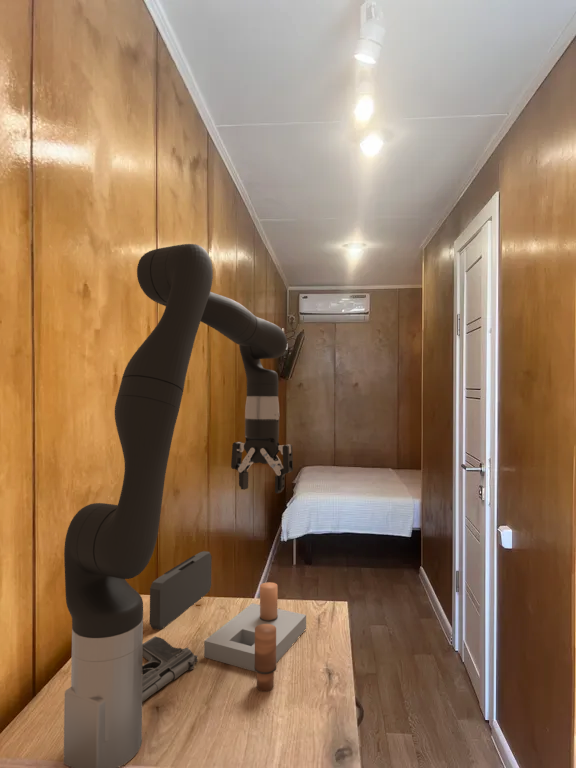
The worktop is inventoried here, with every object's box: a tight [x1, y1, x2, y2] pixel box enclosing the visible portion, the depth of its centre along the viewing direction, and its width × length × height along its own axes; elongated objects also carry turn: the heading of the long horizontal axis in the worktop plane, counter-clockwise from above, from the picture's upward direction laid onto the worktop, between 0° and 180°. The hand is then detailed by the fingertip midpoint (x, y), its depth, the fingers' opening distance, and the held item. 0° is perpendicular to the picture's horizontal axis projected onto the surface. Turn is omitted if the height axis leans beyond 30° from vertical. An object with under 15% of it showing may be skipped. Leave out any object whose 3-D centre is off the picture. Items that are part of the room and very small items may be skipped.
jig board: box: [203, 581, 307, 673], centre depth 95 cm, size 18×13×10 cm
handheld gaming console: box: [149, 551, 213, 630], centre depth 110 cm, size 23×3×10 cm, turn 161°
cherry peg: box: [254, 624, 277, 692], centre depth 80 cm, size 4×4×10 cm
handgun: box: [142, 636, 199, 703], centre depth 83 cm, size 2×17×12 cm
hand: (261, 490), depth 105 cm, fingers open, 8 cm apart
